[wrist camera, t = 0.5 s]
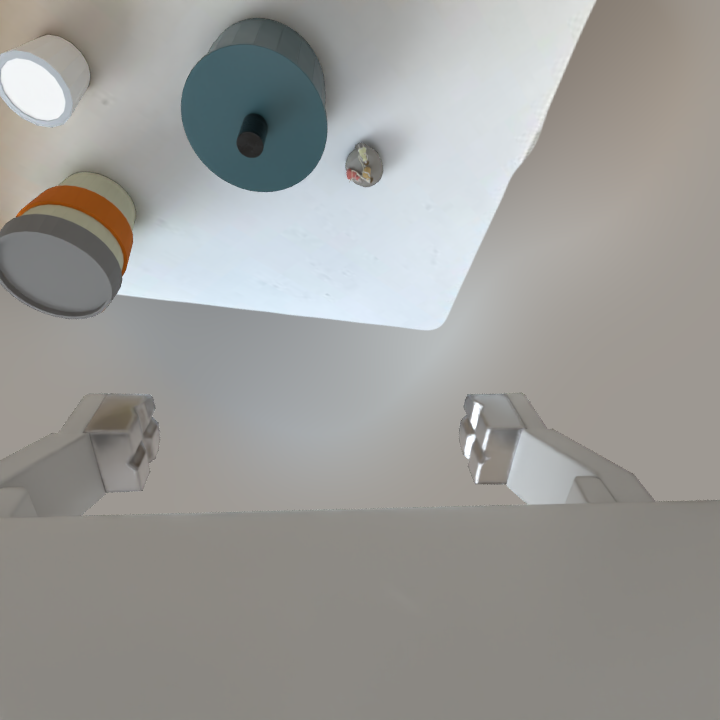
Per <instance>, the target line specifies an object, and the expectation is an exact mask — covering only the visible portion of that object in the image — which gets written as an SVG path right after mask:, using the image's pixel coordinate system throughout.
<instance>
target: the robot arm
mask: <svg viewBox="0 0 720 720" xmlns="http://www.w3.org/2000/svg"><path fill="white" fill-rule="evenodd" d="M464 409H465V412H466V414H467V415H466V416H465V417H464V418H463V419H462V420H461V422H460V428H459V442H460V447H461V450H462V452H463V455H465V456H466V457H467V458H469V463H468V468H469V471H470V473H471V476H472V478H473V480H474V483H475V484H507V487H508V488H510V489H511V490H512V491H513V492H514V493H515V494H516V495H517V496H519V497H520V498H521V499H522V500H523V501H524V502H526V503H527V504H528V505H492V506H453V507H413V508H377V509H376V508H373V509H336V510H334V509H333V510H296V511H295V510H294V511H293V510H292V511H252V512H212V513H175V514H174V513H172V514H136V515H135V514H132V515H94V516H93V515H92V516H81V515H82V514H84V512H86V511H87V510H88V509H89V508H91V507H92V506H93V505H94V504H95V503H96V502H97V501H99V500H100V499H101V498H102V497H103V496H104V495H106V493H108V492H130V491H143V488H144V486H145V483H146V481H147V478H148V476H149V473H150V468H149V463H150V462H151V461H152V460H154V459H155V458H156V455H157V453H158V449H159V443H160V430H159V424H158V422H157V421H156V420H155V419H154V418H153V417H152V415H153V413H154V411H155V404H154V399H153V397H152V396H151V395H150V394H107V393H104V394H103V393H102V394H101V393H99V394H87V395H85V396H84V397H83V398H82V400H81V401H80V402H79V404H78V405H77V407H76V408H75V410H74V411H73V412H72V414H71V415H70V417H69V418H68V420H67V421H66V422H65V424H64V425H63V427H62V428H61V430H60V431H59V432H58V433H51V434H49V435H48V436H45V437H44V438H42V439H40V440H38V441H36V442H34V443H32V444H30V445H28V446H27V447H25V448H23V449H21V450H19V451H17V452H15V453H13V454H12V455H9V456H8V457H6V458H4V459H2V460H0V720H720V500H696V501H655V500H654V499H653V498H652V496H651V495H650V494H649V493H648V491H647V490H646V489H645V488H644V486H643V485H642V484H641V483H640V481H639V480H638V479H637V477H636V476H635V475H634V474H633V473H631V472H629V471H627V470H626V469H624V468H622V467H620V466H618V465H616V464H615V463H613V462H611V461H610V460H608V459H606V458H604V457H602V456H601V455H598V454H597V453H595V452H594V451H592V450H590V449H588V448H586V447H585V446H583V445H581V444H579V443H577V442H575V441H574V440H572V439H570V438H568V437H567V436H565V435H563V434H561V433H559V432H558V431H556V430H554V429H547V427H546V426H545V424H544V423H543V421H542V420H541V418H540V417H539V415H538V413H537V412H536V411H535V409H534V408H533V406H532V405H531V403H530V401H529V400H528V399H527V397H526V395H525V394H523V393H504V394H468V395H467V397H466V399H465V403H464Z"/></svg>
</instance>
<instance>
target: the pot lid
mask: <svg viewBox="0 0 720 720" xmlns="http://www.w3.org/2000/svg"><path fill="white" fill-rule="evenodd" d="M181 115H182V122H183V126H184V130H185V133H186V135H187V138H188V140H189V142H190V144H191V146H192V148H193V150H194V151H195V153H196V154H197V156H198V157H199V158H200V160H201V161H202V162H203V163H204V164H205V165H206V166H207V167H208V168H209V169H210V170H211V171H212V172H213V173H215V174H216V175H217V176H218V177H220V178H221V179H223V180H225V181H226V182H228V183H230V184H232V185H234V186H237V187H240V188H242V189H246V190H250V191H257V192H273V191H279V190H283V189H286V188H289V187H292V186H293V185H295V184H297V183H299V182H300V181H302V180H303V179H305V178H306V177H307V176H308V175H309V174H310V173H311V172H312V171H313V169H314V168H315V167H316V166H317V164H318V162H319V160H320V159H321V156H322V154H323V151H324V148H325V144H326V139H327V117H326V111H325V107H324V103H323V101H322V98H321V96H320V93H319V91H318V89H317V88H316V86H315V84H314V82H313V81H312V80H311V78H310V77H309V75H308V74H307V73H306V72H305V71H304V70H303V69H302V68H301V67H300V66H299V65H298V64H297V63H296V62H295V61H293V60H292V59H291V58H289V57H288V56H286V55H285V54H283V53H281V52H279V51H277V50H275V49H273V48H270V47H267V46H264V45H260V44H254V43H234V44H228V45H225V46H221V47H219V48H217V49H215V50H213V51H211V52H210V53H208V54H207V55H205V56H204V57H203V58H202V59H201V60H200V61H199V62H198V63H197V64H196V65H195V67H194V68H193V69H192V71H191V72H190V74H189V76H188V78H187V80H186V83H185V86H184V89H183V93H182V99H181Z"/></svg>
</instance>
